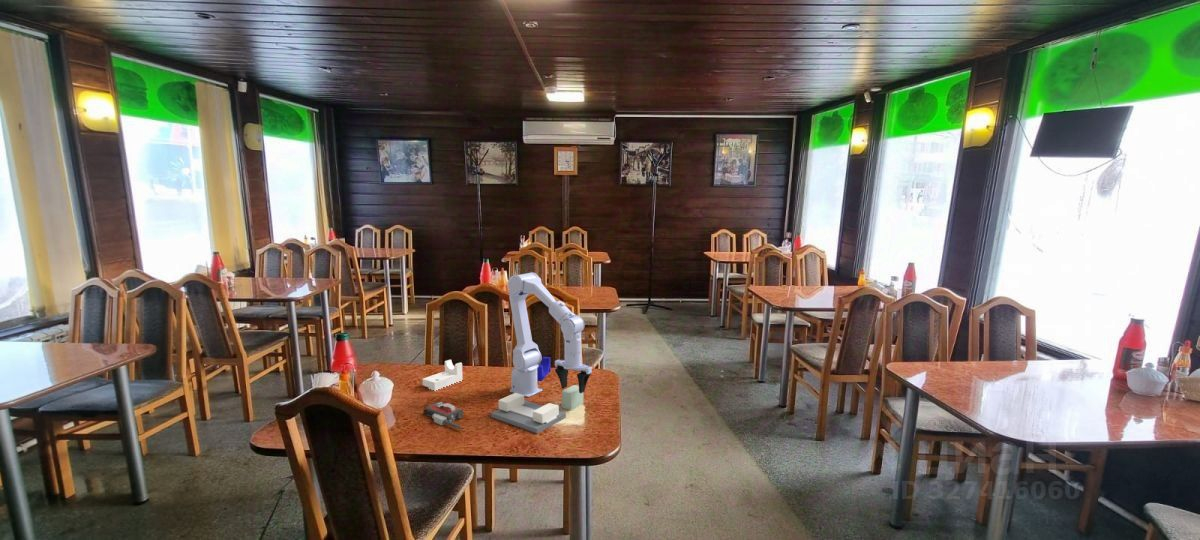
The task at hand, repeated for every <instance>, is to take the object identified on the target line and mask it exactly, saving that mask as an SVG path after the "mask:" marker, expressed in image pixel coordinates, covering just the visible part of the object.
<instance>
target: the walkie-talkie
mask: <svg viewBox="0 0 1200 540" xmlns="http://www.w3.org/2000/svg"><path fill="white" fill-rule="evenodd" d="M422 410H423V411H422V413H424V414H425V415H426V416H427V417H430V418H432V419H433V422H434V423H436V424H437V425H439V426H444V425H447V426H450V427H452V428H457V429H459V430H462V428H463V426H462V425H459V424H457V423H454V422H455V421H457V420H460V419H462V418H463V417H464V411H463V408H460V407H457V406H456V405H454V404H451V403H448V402H447V403H445V402H442V401H437V402H433V403H432V404H429V405H428V406H426V409H422Z"/></svg>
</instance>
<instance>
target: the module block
mask: <svg viewBox="0 0 1200 540" xmlns="http://www.w3.org/2000/svg"><path fill="white" fill-rule="evenodd" d="M584 393H585V391H584V392H583V393H579V385H577V384H574V385H571V386H569V387H566V388H564V389H563V390H562V391H561V408H563V409H566V410H569V411H572V410H574V409H576V408H578V407H580V406H582V405H583V404H584Z"/></svg>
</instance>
